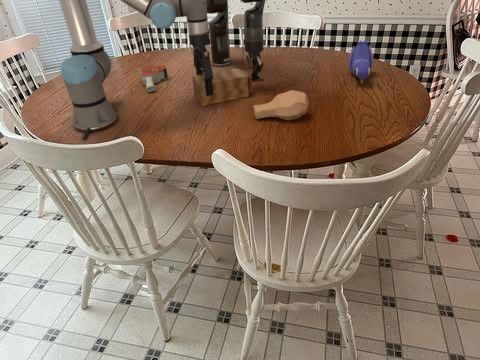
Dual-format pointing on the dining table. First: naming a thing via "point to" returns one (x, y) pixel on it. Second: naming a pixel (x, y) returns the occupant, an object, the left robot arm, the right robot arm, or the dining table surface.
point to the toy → (361, 60)
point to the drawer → (252, 80)
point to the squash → (284, 106)
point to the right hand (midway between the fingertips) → (254, 81)
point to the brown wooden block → (222, 86)
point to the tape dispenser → (152, 76)
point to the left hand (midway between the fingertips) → (205, 90)
